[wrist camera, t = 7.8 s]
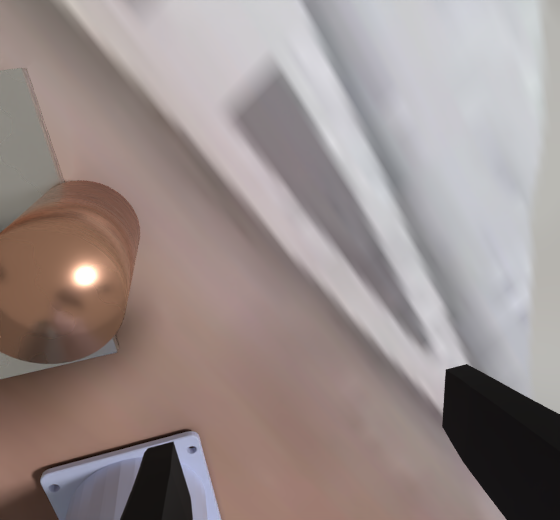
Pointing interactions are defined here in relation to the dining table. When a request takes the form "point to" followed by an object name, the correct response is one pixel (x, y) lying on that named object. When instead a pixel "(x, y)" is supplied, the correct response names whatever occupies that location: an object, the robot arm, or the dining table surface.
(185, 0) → the dining table surface
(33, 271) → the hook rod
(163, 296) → the dining table surface
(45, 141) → the grey plate
